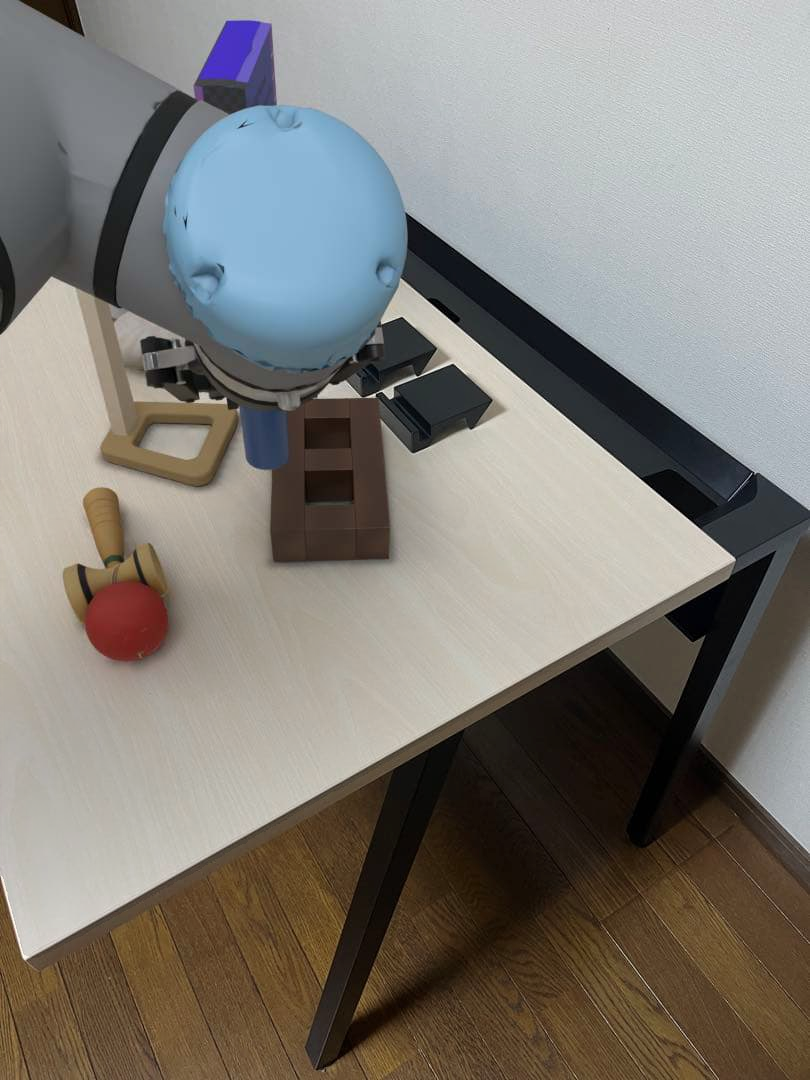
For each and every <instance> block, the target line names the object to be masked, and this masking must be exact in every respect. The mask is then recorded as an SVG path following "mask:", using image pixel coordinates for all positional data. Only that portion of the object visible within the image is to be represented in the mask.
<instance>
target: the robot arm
mask: <svg viewBox="0 0 810 1080" xmlns="http://www.w3.org/2000/svg"><path fill="white" fill-rule="evenodd" d="M381 156H382V155H380V154H379V153H378V151H377V150H376V148H375V147H374V146H372V144H370V142H369V141H368V140H367V139H366V138H365V137H363V136H362V135H361V134H360V133H359V132H358V131H357V130H355V129H354V128H353V127H351V126H350V125H349V124H347V123H346V122H344V121H342V120H340V119H339V118H337V117H336V116H334V115H332V114H328V113H326V112H325V111H322V110H318V109H315V108H312V107H302V106H296V105H287V104H286V105H284V104H280V105H278V104H277V106H261V105H259V106H255V107H250V108H246V109H243V110H241V111H238V112H235V113H233V114H231V115H229V114H228V113H226V112H224V111H222V110H220V109H218V108H216V107H214V106H212V105H210V104H208V103H206V102H204V101H202V100H200V101H198V100H196V99H195V97H194V96H191V95H189V94H187V93H186V92H184V91H183V90H181V89H179V88H177V87H175V86H173V85H171V84H170V83H168V82H166V81H165V80H163V79H161V78H159V77H157V76H156V75H154V74H152V73H150V72H148V71H147V70H145V69H144V68H143V69H142V68H141V67H139V66H138V65H136V64H134V63H133V62H130V61H128V60H127V59H125V58H123V57H121V56H119V55H118V54H116V53H114V52H112V51H111V50H109V49H107V48H105V47H103V46H101V45H100V44H98V43H96V42H95V41H92V40H91V39H89V38H87V37H85V36H83V35H82V34H80V33H78V32H76V31H74V30H73V29H71V28H69V27H67V26H65V25H63V24H62V23H60V22H58V21H56V20H55V19H53V18H51V17H49V16H48V15H45V14H44V13H42V12H40V11H39V10H36V9H35V8H33V7H31V6H29V5H28V4H26V3H24V2H22V1H21V0H0V336H1V335H3V333H5V332H6V330H8V328H9V327H10V326H11V325H12V324H13V323H14V321H15V320H16V319H17V317H19V315H20V314H21V313H22V312H23V311H24V309H25V308H26V307H27V306H28V305H29V303H30V302H31V301H32V300H33V299H34V298H35V296H36V295H37V294H38V293H39V292H40V290H41V289H42V288H43V287H44V286H45V285H46V284H47V282H48V281H49V280H50V279H51V278H54V279H56V280H58V281H60V282H62V283H64V284H66V285H69V286H71V287H72V288H75V289H76V288H77V289H79V290H81V291H83V292H86V293H88V294H90V295H92V296H94V297H96V298H98V299H101V300H103V301H105V302H107V303H109V304H111V305H113V306H115V307H117V308H124V309H125V310H127V311H129V312H131V313H133V314H135V315H137V316H139V317H141V318H143V319H145V320H147V321H149V322H152V323H154V324H156V325H158V326H160V327H162V328H164V329H166V330H168V331H170V332H172V333H174V334H176V335H179V336H181V337H183V338H185V346H184V347H182V346H181V345H180V340H179V339H177V338H175V339H170V340H168V339H164V338H159V337H156V336H148V337H146V338H145V339H142V340H140V345H141V351H142V357H143V364H144V369H143V370H144V376H145V381H146V387H147V388H154V389H164V390H165V391H166V392H167V393H169V394H170V395H171V396H173V397H174V398H175V399H177V400H178V401H180V402H182V403H195V402H196V401H198V400H200V399H201V397H200V394H201V393H206V394H207V393H208V398H209V400H211V401H213V400H214V401H222V400H224V399H225V398H226V399H225V400H226V404H227V406H228V410H233V409H236V410H239V405H241V406H244V407H246V408H249V409H253V410H258V411H266V412H276V411H284V410H287V411H293V410H295V409H297V408H298V407H299V406H301V405H303V404H305V403H307V402H309V401H310V400H312V399H318V397H319V395H320V394H321V393H322V392H323V391H324V390H325V389H326V388H327V387H328V386H329V385H331V386H337V385H340V383H342V382H345V381H347V380H348V379H349V378H351V377H352V376H353V375H355V374H357V373H358V372H360V371H361V370H363V368H365V367H367V366H368V365H371V364H373V363H379V362H381V361H382V360H384V359H385V360H386V359H387V355H386V348H385V347H386V346H385V340H384V339H385V338H384V332H383V331H384V330H383V325H382V318H383V317H384V315H385V313H386V311H387V310H388V307H389V305H390V303H391V302H392V299H393V298H394V296H395V294H396V292H397V290H398V288H399V287H400V281H401V278H402V275H403V271H404V267H405V264H406V258H407V253H408V240H409V239H408V222H407V215H406V211H405V205H404V201H403V198H402V195H401V193H400V189H399V187H398V184H397V182H396V180H395V177H394V175H393V174H392V172H391V170H390V168H389V166H388V165H387V163H386V162H385V160H384V159H383V157H381Z"/></svg>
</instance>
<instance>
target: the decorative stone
mask: <svg viewBox="0 0 810 1080" xmlns="http://www.w3.org/2000/svg"><path fill="white" fill-rule="evenodd" d="M113 323H114V327H115V331H116V335H117V339H118V342H119V346H120V350H121V354H122V358H123V362H124V366H125V367H126V368H127V367H128V368H131V369H135V370H144V364H143V357H142V351H141V345H140V340H142V339H145V338H146V337H148V336H156V337H159V338H164V339H168V340H170V339H175V338H177V339H179V340H180V345H181V346H182V347H184V346H185V338H183V337H181V336H179V335H176V334H174V333H172V332H170V331H168V330H166V329H164V328H162V327H160V326H158V325H156V324H154V323H152V322H149V321H147V320H145V319H143V318H141V317H139V316H137V315H135V314H133V313H131V312H127V313H125V314H123V315H122V316H121V317H119V318H118V319H117V320H116V319H115V320H114V321H113Z"/></svg>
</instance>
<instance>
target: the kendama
mask: <svg viewBox="0 0 810 1080" xmlns="http://www.w3.org/2000/svg"><path fill="white" fill-rule="evenodd" d="M82 506H83V510H84V512H85V514H86V517H87V521H88V524H89V527H90V530H91V534H92V537H93V540H94V543H95V544H94V545H95V546H96V549H97V552H98V554H99V556H100V559H101V561H102V563H103V565H104V568H92V567H90V566H89V567H88V566H85V565H83V564H81V563H79V562H77V563H74V564H72V565H69V566H67V567H64V568H63V569H62V581H63V586H64V590H65V593H66V597H67V599H68V601H69V604H70V607H71V608H72V611H73V613H74V615H75V616H76V617H77V619H78V621H79V622H80V623H81V624H83V625H84V629H85V633H86V636H87V638H88V640H89V643H90V644H91V645H92V646H93V648H94V649H95V650H96V651H97V652H98V653H100V654H101V655H102V656H103V657H106V658H107V659H109V660H113V661H117V662H132V661H133V662H134V661H138V660H144V659H145V657H147V656H149V655H151V654H152V653H154V652H155V651H156V650H157V649H158V648H159V647H160V646H161V645H162V643H163V641H165V639H166V635H167V633H168V630H169V629H168V628H169V621H170V620H169V611H168V607H167V605H166V603H165V601H164V599H163V597H164V596H166V595H168V593H169V585H168V581H167V578H166V575H165V572H164V569H163V567H162V564H161V561H160V558H159V557H158V554H157V552H156V550H155V548H154V546H153V545H152V544H151V543H150V542H145V543H141V544H138V545H137V546H135V549H134V550H133V551H132V553H131V555H130V556H129V557H128V558H127V559H125V545H124V534H123V527H122V519H121V512H120V500H119V496H118V494H117V493H116V492H115V491H114V490H112V489H111V488H108V487H103V486H99V487H95V488H92V489H90V490H89V491H87V493H86V494H84V497H83V499H82Z"/></svg>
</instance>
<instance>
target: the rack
mask: <svg viewBox="0 0 810 1080" xmlns="http://www.w3.org/2000/svg"><path fill="white" fill-rule="evenodd" d="M379 399H380V398H379V397H341V398H340V397H337V398H335V397H334V398H333V397H332V398H313V399H312V400H310V401H309V402H307V403H305V404H303V405H301V406H299V407H298V408H297V409H295V410H293V411H287V410H286V411H287V423H288V436H289V449H290V457H289V459H288V461H287V462H286V463H285V464H284V465H283V466H281V467H279V468H276V469H272V470H271V492H270V493H271V495H270V519H269V521H270V525H269V533H270V543H271V550H272V551H271V552H272V553H271V554H272V560H273V563H295V562H296V563H299V562H301V563H302V562H303V563H304V562H329V561H333V562H334V561H355V560H356V561H363V560H364V561H365V560H389V559H390V543H391V542H390V539H391V521H390V511H389V509H390V508H389V499H388V488H387V477H386V467H385V465H386V464H385V456H384V445H383V444H384V443H383V434H382V424H381V423H382V422H381V413H380V412H381V411H380V401H379ZM330 502H331V503H333V502H352V504H350V503H349V504H318V505H317V504H316V505H314V504H313V505H307V503H330Z"/></svg>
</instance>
